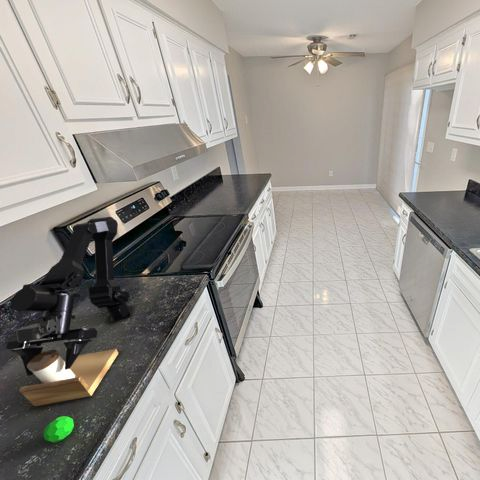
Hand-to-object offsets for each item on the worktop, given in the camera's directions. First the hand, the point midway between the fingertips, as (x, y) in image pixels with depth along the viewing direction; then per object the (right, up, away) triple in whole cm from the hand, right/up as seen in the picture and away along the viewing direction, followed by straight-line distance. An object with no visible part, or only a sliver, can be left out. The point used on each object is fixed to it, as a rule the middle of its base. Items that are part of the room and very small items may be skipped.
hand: (48, 372), depth 68 cm
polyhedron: (+11, -12, -7) cm, 17 cm away
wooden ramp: (+2, -5, +7) cm, 9 cm away
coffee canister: (0, -5, +3) cm, 6 cm away
